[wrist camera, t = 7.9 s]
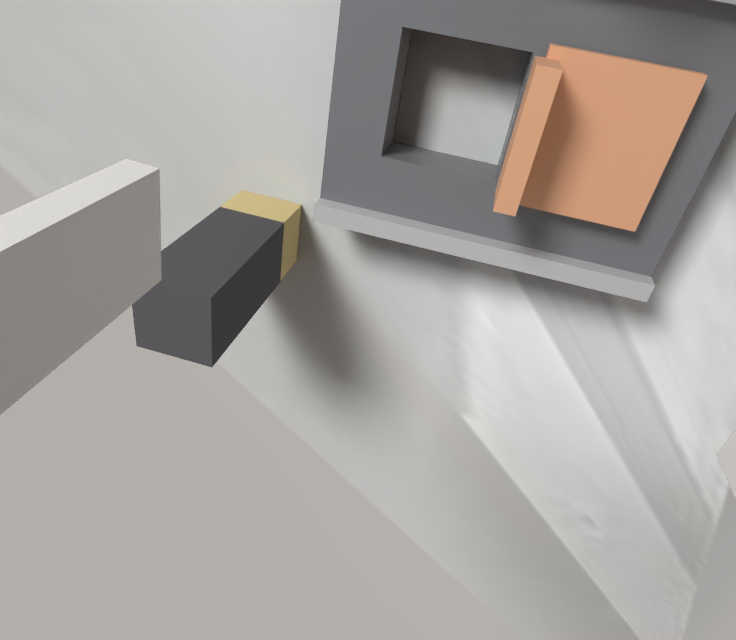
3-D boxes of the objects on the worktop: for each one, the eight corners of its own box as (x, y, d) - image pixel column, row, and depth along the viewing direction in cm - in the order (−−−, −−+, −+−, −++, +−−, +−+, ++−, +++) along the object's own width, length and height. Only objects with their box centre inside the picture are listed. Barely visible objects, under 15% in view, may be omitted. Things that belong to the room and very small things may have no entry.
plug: (241, 190, 34) (128, 275, 24) (301, 204, 34) (210, 297, 24) (240, 246, 37) (137, 345, 27) (296, 260, 36) (212, 367, 26)
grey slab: (367, -87, 25) (344, -96, 22) (771, -17, 23) (812, -16, 20) (333, 197, 33) (313, 221, 30) (633, 268, 31) (646, 302, 28)
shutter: (538, 40, 23) (540, 50, 20) (702, 72, 23) (731, 87, 20) (493, 193, 27) (489, 221, 24) (632, 225, 27) (647, 258, 23)
